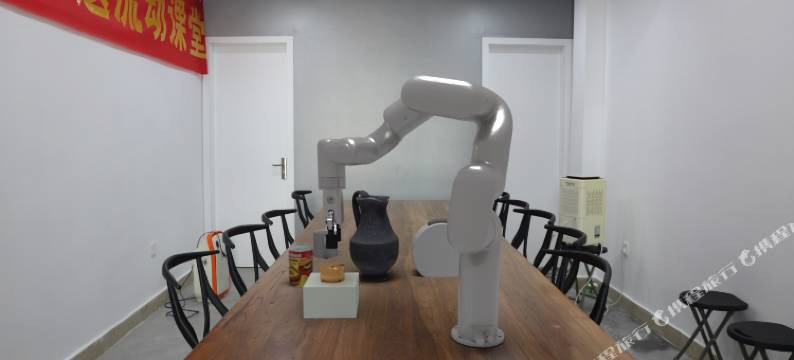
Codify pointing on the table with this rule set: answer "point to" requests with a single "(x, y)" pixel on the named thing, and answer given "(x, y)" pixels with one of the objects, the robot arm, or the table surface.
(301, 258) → the canned food
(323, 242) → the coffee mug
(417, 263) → the alarm clock
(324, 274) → the pin
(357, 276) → the hole block
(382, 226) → the pitcher
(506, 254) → the table surface
